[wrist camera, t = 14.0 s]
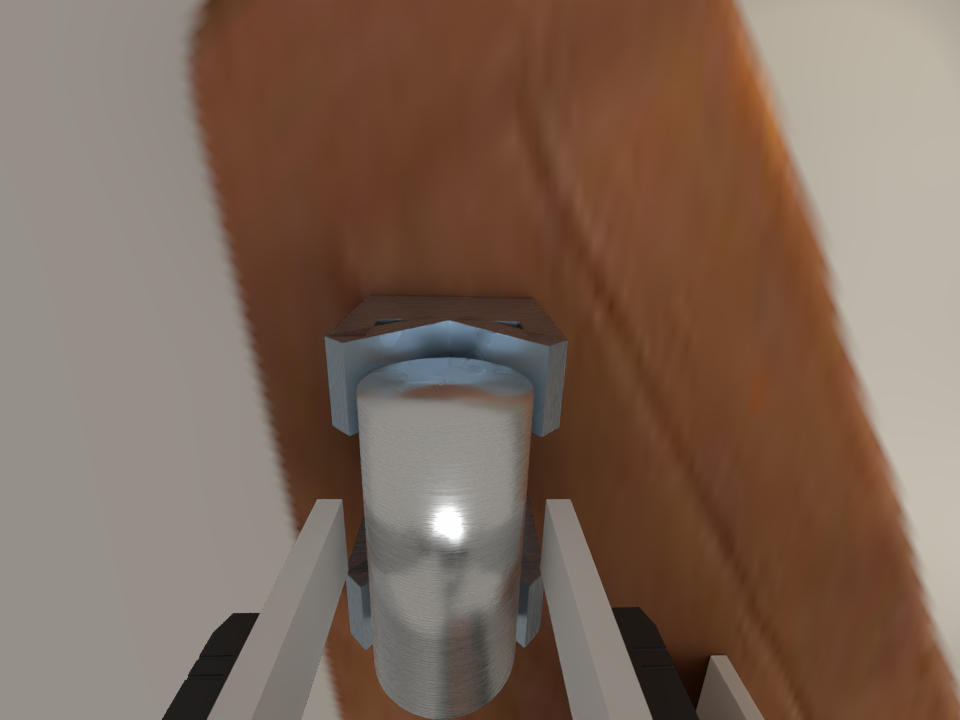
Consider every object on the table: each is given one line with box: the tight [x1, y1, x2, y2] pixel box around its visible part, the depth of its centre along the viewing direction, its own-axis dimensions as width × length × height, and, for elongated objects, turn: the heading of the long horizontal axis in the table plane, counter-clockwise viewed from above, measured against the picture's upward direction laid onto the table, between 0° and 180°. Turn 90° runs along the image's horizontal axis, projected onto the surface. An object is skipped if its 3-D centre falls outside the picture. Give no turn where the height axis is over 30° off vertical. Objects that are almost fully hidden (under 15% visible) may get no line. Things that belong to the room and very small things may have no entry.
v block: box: [325, 295, 568, 650], centre depth 18 cm, size 12×7×8 cm, turn 178°
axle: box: [356, 358, 534, 719], centre depth 14 cm, size 10×5×5 cm, turn 178°
